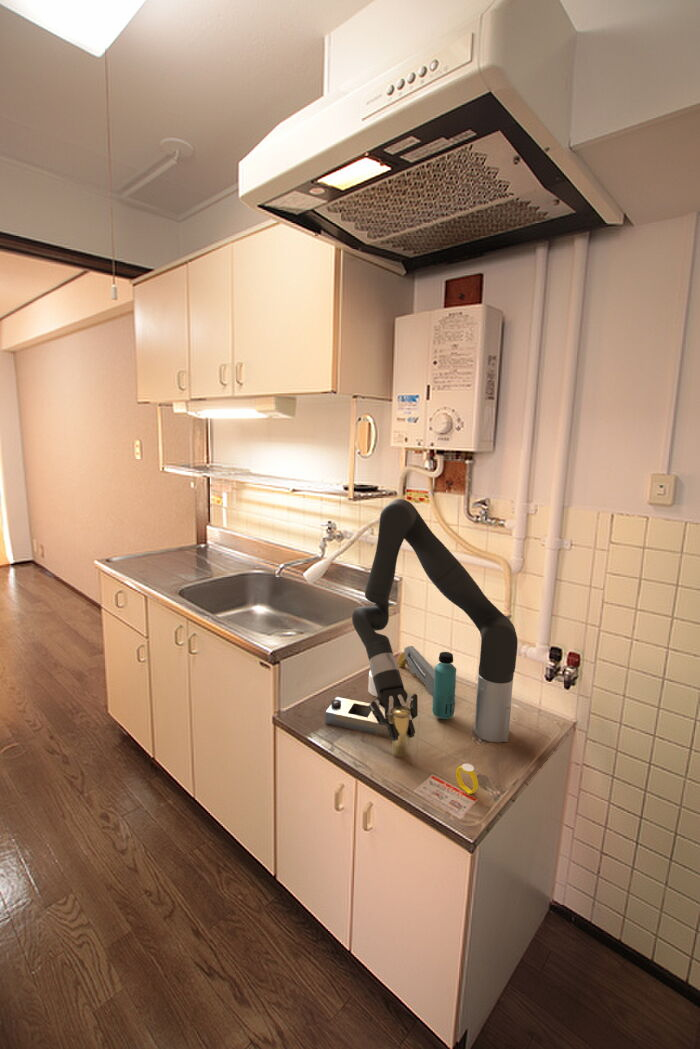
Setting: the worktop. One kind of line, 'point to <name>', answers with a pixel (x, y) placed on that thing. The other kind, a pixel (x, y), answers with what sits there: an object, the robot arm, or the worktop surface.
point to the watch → (469, 770)
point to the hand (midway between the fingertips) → (403, 738)
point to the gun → (418, 666)
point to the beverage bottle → (444, 687)
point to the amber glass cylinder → (400, 730)
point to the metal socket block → (355, 716)
